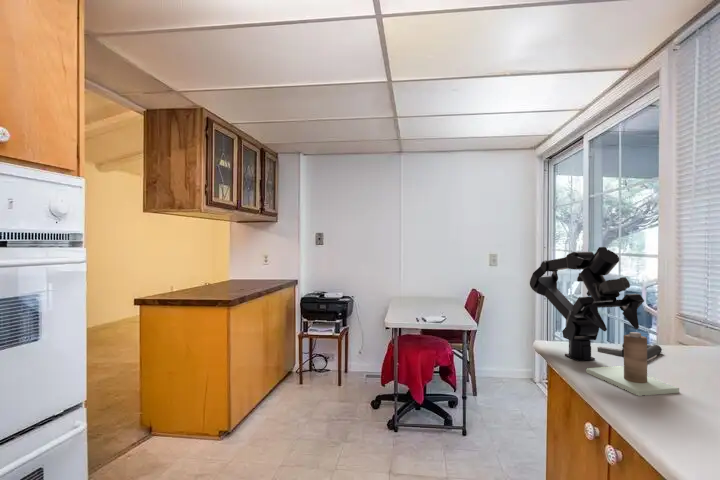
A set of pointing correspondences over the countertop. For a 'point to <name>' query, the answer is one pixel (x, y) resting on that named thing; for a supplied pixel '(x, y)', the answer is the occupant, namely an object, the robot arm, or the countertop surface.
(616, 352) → the door handle
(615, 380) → the serving board
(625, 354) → the brown capped cylinder
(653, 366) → the countertop surface
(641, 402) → the countertop surface
